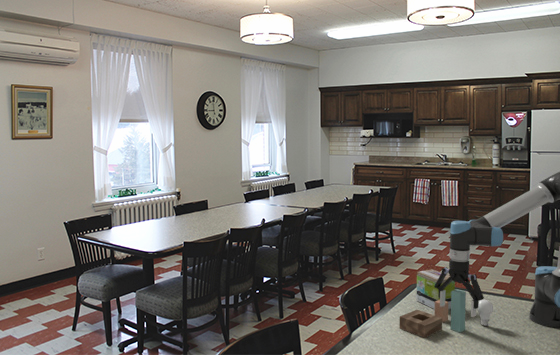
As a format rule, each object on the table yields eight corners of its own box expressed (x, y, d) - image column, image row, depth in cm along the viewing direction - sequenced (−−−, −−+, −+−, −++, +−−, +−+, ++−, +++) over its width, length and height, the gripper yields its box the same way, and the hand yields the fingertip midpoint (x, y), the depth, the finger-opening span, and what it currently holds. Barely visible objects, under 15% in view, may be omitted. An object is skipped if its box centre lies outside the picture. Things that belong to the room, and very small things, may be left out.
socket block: (442, 329, 188) (442, 317, 187) (424, 338, 180) (425, 325, 180) (416, 320, 197) (416, 309, 197) (399, 328, 190) (399, 316, 189)
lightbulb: (483, 329, 187) (483, 303, 186) (472, 323, 194) (473, 298, 193) (496, 327, 189) (497, 301, 188) (485, 321, 195) (486, 296, 194)
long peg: (464, 329, 187) (465, 291, 186) (459, 332, 185) (460, 293, 184) (455, 326, 190) (456, 289, 189) (450, 329, 188) (451, 291, 187)
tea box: (415, 301, 221) (416, 271, 219) (431, 298, 225) (432, 268, 224) (438, 311, 207) (439, 279, 206) (455, 308, 211) (455, 276, 210)
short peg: (448, 320, 198) (448, 301, 197) (442, 322, 195) (443, 304, 194) (439, 317, 201) (440, 299, 200) (434, 319, 198) (434, 301, 198)
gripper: (426, 254, 193) (425, 304, 194) (484, 267, 173) (482, 322, 175) (436, 252, 197) (435, 300, 199) (494, 264, 178) (492, 317, 180)
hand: (457, 310), depth 187 cm, fingers open, 13 cm apart
